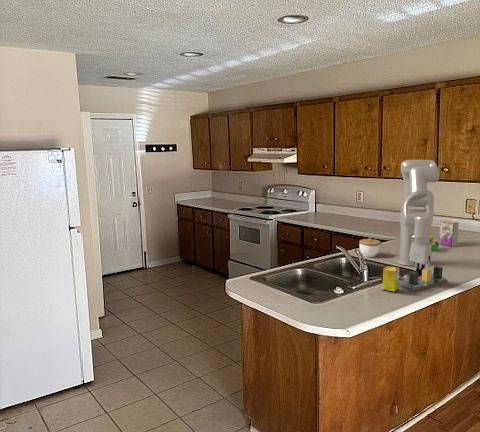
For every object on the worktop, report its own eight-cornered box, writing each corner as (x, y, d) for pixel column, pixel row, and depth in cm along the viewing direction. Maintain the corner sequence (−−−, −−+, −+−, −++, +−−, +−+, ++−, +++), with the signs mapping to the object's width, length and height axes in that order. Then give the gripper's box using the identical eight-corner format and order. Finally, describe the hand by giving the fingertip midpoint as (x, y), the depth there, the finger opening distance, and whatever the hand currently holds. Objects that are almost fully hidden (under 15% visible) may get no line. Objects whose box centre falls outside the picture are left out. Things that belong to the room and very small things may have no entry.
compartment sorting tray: (424, 275, 234) (425, 260, 233) (447, 282, 222) (448, 267, 221) (389, 283, 222) (390, 268, 221) (412, 291, 210) (413, 275, 209)
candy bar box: (438, 243, 301) (440, 220, 299) (443, 242, 303) (445, 219, 300) (451, 247, 291) (453, 223, 288) (457, 246, 293) (459, 222, 290)
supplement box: (386, 287, 217) (387, 265, 215) (398, 289, 213) (400, 268, 211) (381, 290, 212) (382, 268, 210) (394, 293, 208) (395, 270, 206)
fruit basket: (419, 251, 282) (420, 234, 280) (418, 247, 291) (419, 231, 289) (438, 252, 279) (440, 235, 277) (437, 249, 287) (438, 232, 285)
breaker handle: (425, 280, 220) (426, 268, 219) (430, 282, 218) (431, 269, 217) (421, 281, 219) (422, 269, 218) (426, 283, 216) (427, 270, 215)
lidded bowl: (354, 254, 276) (355, 237, 274) (369, 252, 282) (370, 235, 280) (368, 259, 265) (369, 241, 263) (384, 256, 271) (385, 239, 269)
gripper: (404, 237, 222) (402, 272, 226) (429, 244, 210) (426, 281, 213) (414, 236, 226) (412, 270, 230) (439, 242, 213) (437, 278, 217)
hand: (419, 275), depth 221 cm, fingers closed
